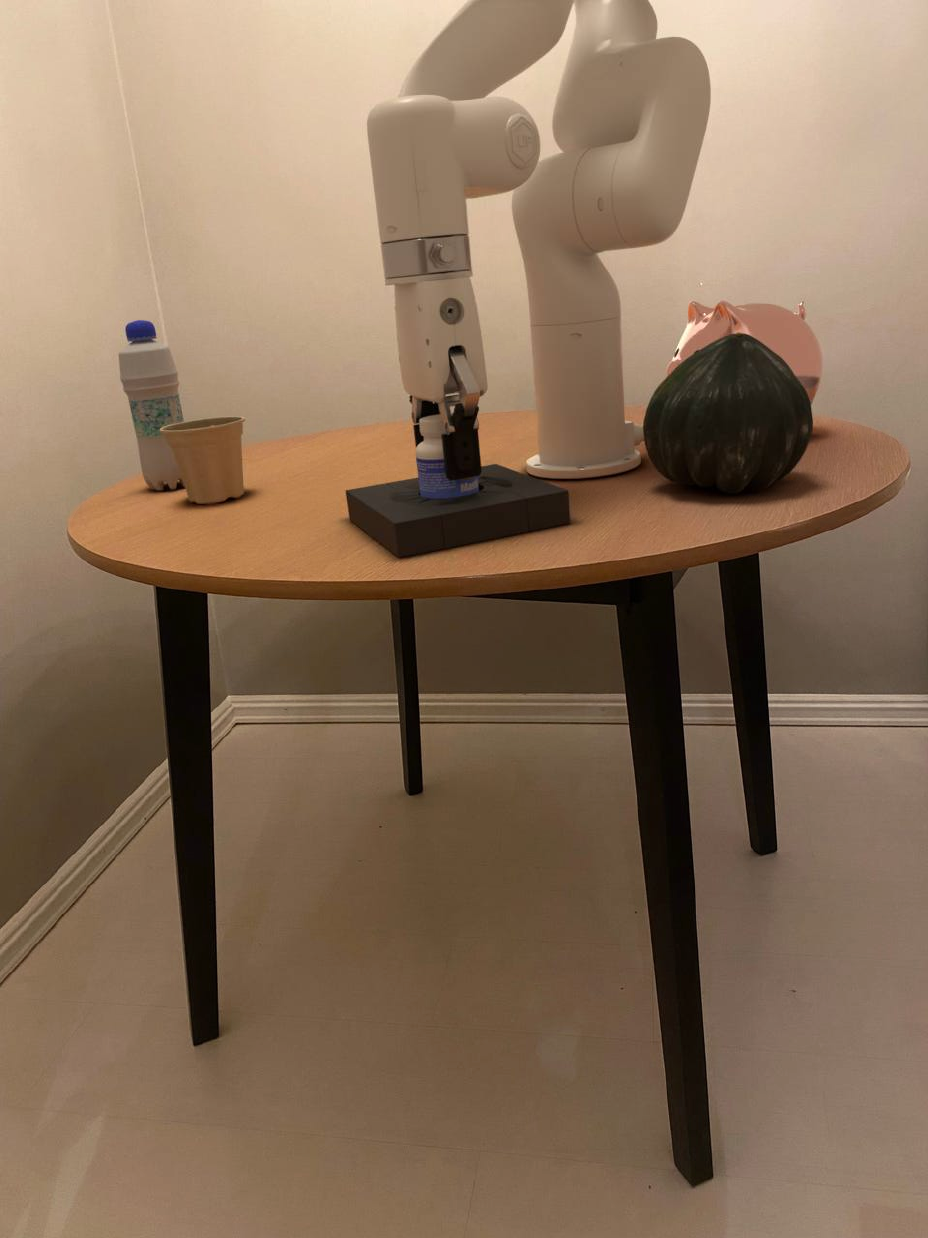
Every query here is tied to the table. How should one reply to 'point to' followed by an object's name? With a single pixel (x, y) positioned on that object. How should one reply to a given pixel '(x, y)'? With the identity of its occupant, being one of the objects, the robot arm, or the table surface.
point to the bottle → (151, 401)
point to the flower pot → (208, 457)
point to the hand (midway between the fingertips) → (448, 469)
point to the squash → (729, 418)
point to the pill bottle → (438, 464)
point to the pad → (457, 511)
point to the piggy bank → (756, 335)
